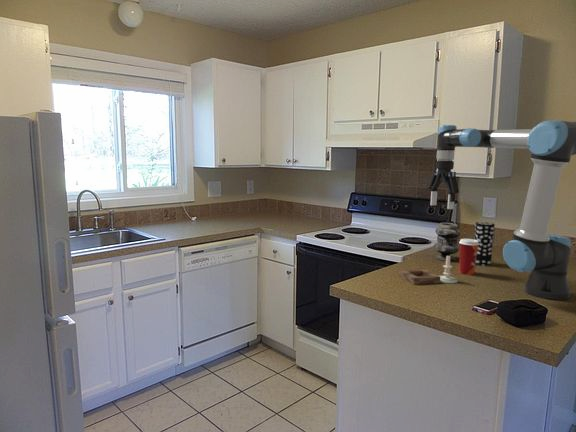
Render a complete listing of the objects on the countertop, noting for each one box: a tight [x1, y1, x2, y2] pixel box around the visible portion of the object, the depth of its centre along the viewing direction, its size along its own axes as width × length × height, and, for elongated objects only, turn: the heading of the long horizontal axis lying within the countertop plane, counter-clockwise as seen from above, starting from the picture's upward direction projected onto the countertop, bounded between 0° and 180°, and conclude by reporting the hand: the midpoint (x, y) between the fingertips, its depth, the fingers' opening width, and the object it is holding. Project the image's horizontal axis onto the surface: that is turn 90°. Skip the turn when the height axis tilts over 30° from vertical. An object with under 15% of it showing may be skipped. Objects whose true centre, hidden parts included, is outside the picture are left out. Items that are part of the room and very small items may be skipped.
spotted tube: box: [473, 221, 496, 267], centre depth 202 cm, size 8×8×20 cm
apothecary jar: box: [433, 222, 461, 262], centre depth 211 cm, size 12×12×18 cm
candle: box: [440, 255, 454, 281], centre depth 175 cm, size 5×5×10 cm
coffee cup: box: [458, 238, 479, 276], centre depth 186 cm, size 8×8×15 cm
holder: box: [399, 268, 441, 285], centre depth 176 cm, size 12×12×2 cm
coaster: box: [438, 275, 459, 284], centre depth 176 cm, size 9×9×1 cm
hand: (441, 207), depth 190 cm, fingers open, 13 cm apart
